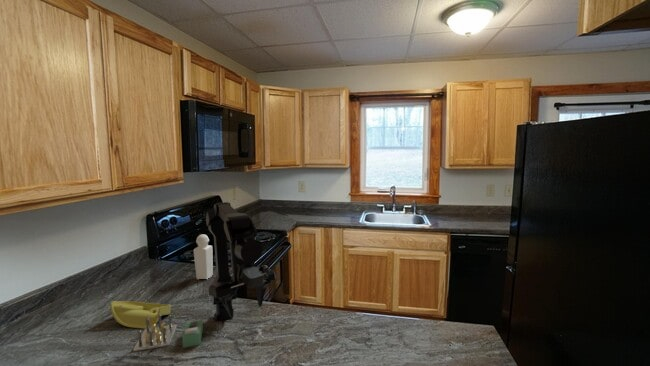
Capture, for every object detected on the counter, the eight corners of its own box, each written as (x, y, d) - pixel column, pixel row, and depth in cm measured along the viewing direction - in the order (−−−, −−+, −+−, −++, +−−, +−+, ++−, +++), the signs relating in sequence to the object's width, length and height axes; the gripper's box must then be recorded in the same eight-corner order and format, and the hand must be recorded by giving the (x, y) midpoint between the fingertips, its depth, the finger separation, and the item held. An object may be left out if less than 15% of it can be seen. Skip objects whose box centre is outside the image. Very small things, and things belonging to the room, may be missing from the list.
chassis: (145, 331, 101) (143, 316, 101) (176, 326, 104) (175, 312, 103) (133, 351, 91) (131, 335, 90) (168, 345, 93) (167, 329, 93)
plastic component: (174, 305, 114) (159, 306, 105) (169, 326, 112) (153, 329, 102) (126, 300, 116) (107, 301, 106) (120, 321, 113) (100, 324, 104)
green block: (187, 333, 100) (186, 319, 99) (202, 330, 101) (202, 317, 101) (182, 348, 92) (181, 333, 92) (200, 345, 94) (199, 330, 93)
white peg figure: (207, 280, 142) (204, 236, 140) (195, 279, 143) (192, 236, 141) (214, 275, 148) (212, 232, 146) (202, 274, 149) (200, 232, 147)
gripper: (223, 269, 74) (228, 331, 73) (283, 253, 87) (288, 306, 86) (205, 264, 82) (210, 321, 81) (263, 250, 95) (267, 299, 94)
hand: (246, 311), depth 85 cm, fingers open, 9 cm apart
